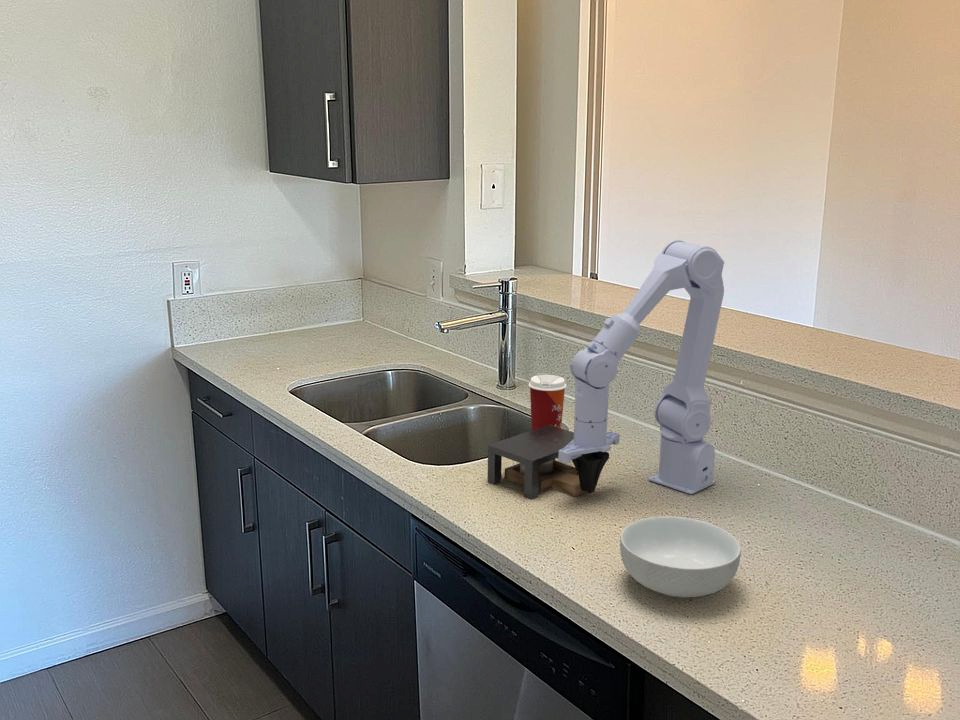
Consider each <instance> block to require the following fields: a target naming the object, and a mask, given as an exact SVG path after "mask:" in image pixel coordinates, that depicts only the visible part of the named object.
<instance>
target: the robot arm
mask: <svg viewBox="0 0 960 720" xmlns="http://www.w3.org/2000/svg"><path fill="white" fill-rule="evenodd" d="M662 249H663V250H662V251H661V253H659V254H658V255H657V256H656V257H655V260H654V263H653V264H654V265H653V267H652V270H651V271H650V273H649V274H648V276H647V277H646V278H645V280H644V282H643V283H642V284H641V286H640V288H639V289H638V290H637V292H636V293H635V295H634V296H633V298H632V299H631V301H630V302H629V303H628V305H627V307H626V308H625V310H624V311H623V312H621V313H614V314H613V315H612V316H611V317H607V318H606V319H605V320H604V322H603V324H604V326H603V327H602V328H601V329H600V331H599V332H598V333H597V335H596V336H595V337H594V338H593V339H592V341H590V342H588V344H587V348H583V349H581V350H579V351H577V353H576V354H575V355H574V357H573V359H572V363H570V364H569V371H570V374H571V375H572V376H573V378H574V386H575V391H574V393H575V394H574V417H573V419H574V421H573V423H574V424H573V432H574V439H573V440H572V441H571V442H570V443H569V444H568V445H567V446H566V447H564V448H563V449H561V450H559V456H558V458H557V459H558V460H557V461H558V462H561V463H564V464H567V465H569V464H571V462H572V464H573V467H575V468H576V471H577V476H578V477H579V481H580V486H581V490H582V491H585V492H586V493H588V494H591V493H594V492H596V488H597V484H598V482H599V479H600V476H601V472H602V471H603V468H604V466H605V465H606V463H607V462H608V460H609V459H610V453H609V451H611V450H612V447H611V445H615V446H617V445H619V444H620V436H621V435H620V433H619V432H615V431H612V430H609V431H608V412H609V392H610V384H611V383H612V382H613V381H614V380H615V379H616V376H617V373H618V366H619V364H620V361H621V359H622V358H623V357H624V356H625V354H626V353H627V352H628V350H630V348H631V347H632V345H633V344H634V343H635V341H637V339H638V338H639V336H640V334H641V333H640V325H641V323H642V322H643V321H644V320H645V319H646V318H647V316H648V315H649V314H651V312H652V311H653V310H654V308H655V307H656V306H657V305H658V304H659V303H660V302H661V300H663V298H665V296H666V295H667V294H668V293H669V292H671V291H674V290H681V289H685V291H686V292H687V294H688V295H689V296H690V299H689V302H688V303H689V304H688V309H687V313H686V319H685V323H684V326H683V327H684V328H683V332H682V338H681V343H680V347H679V351H678V357H677V362H676V368H675V371H674V376H673V380H672V381H671V382H670V383H669V384H667V385H665V386H664V387H663V390H662V394H661V396H660V399H659V400H657V401H658V402H657V403H656V405H655V407H654V419H655V420H656V423H658V424H659V432H660V443H659V444H660V445H659V447H660V448H659V461H658V473H656V474H654V475H651V476H649V477H648V481H650V482H653V483H655V484H659V485H661V486H662V485H663V486H664V487H668V488H671V489H674V490H676V491H679V492H682V493H686V494H688V495H693V494H696V493H697V492H700V491H702V490H704V489H706V488H708V487H710V486H712V485H714V484H715V483H716V480H714V468H715V456H716V452H715V448H714V445H713V444H712V443H710V442H707V441H706V440H704V437H705V436H706V435H707V433H708V432H709V430H710V428H711V426H712V418H711V411H710V410H711V405H712V402H711V400H710V398H709V396H708V394H707V392H706V390H705V384H706V383H705V382H706V378H707V374H708V369H709V364H710V359H711V356H712V355H711V354H712V351H713V346H714V342H715V337H716V332H717V328H718V324H719V323H718V322H719V319H720V314H721V309H722V303H723V299H724V296H725V295H724V294H725V287H724V286H725V285H724V281H723V274H722V273H723V270H724V264H725V261H724V259H723V258H722V257H721V256H720V254H719V253H718V251H716V249H714V248H713V247H711V246H708V245H707V246H702V245H699V244H694V243H688V242H686V241H683V240H678V239H675V240H672V241H670V242H668V243H667V244H666V245H665V246H664V247H663V248H662Z"/></svg>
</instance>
